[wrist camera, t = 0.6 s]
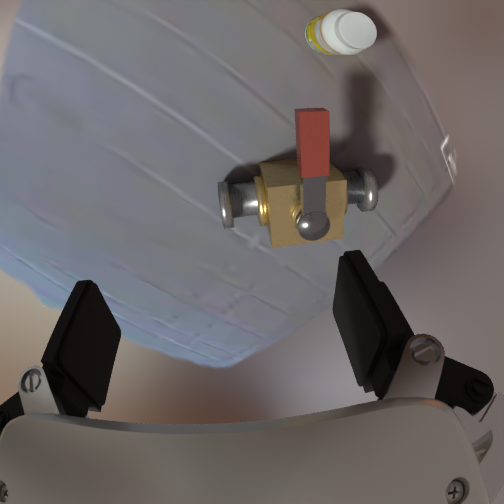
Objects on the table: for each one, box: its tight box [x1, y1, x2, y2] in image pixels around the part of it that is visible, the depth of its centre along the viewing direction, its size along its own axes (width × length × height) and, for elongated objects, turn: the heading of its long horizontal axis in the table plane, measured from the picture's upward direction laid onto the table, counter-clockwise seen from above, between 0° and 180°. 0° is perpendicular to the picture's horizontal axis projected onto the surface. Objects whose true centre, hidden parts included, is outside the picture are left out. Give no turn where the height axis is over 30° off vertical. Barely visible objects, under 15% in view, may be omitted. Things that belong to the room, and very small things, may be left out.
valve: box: [218, 159, 378, 248], centre depth 36 cm, size 20×8×9 cm, turn 96°
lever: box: [295, 108, 330, 241], centre depth 28 cm, size 14×4×2 cm, turn 6°
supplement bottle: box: [305, 9, 377, 55], centre depth 23 cm, size 5×5×10 cm
